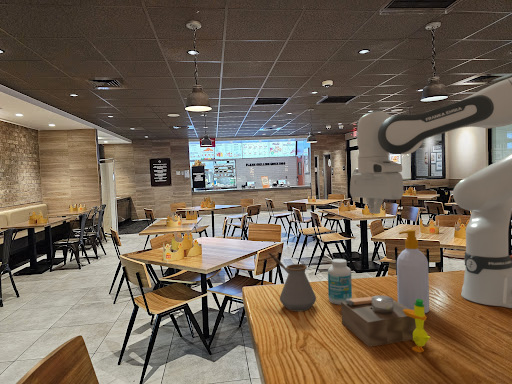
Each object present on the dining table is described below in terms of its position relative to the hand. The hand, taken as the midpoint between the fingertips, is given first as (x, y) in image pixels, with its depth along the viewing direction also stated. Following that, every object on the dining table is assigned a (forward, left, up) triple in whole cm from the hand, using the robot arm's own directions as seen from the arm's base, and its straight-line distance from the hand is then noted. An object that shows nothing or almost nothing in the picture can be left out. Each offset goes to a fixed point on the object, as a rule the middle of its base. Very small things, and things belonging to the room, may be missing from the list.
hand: (374, 213), depth 103 cm
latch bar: (+9, +9, -23) cm, 26 cm away
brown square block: (+8, +13, -29) cm, 33 cm away
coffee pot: (+24, -14, -29) cm, 40 cm away
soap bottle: (-9, +4, -29) cm, 31 cm away
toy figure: (+5, +25, -29) cm, 39 cm away
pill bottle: (+8, -9, -29) cm, 32 cm away
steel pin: (+8, +15, -28) cm, 33 cm away
